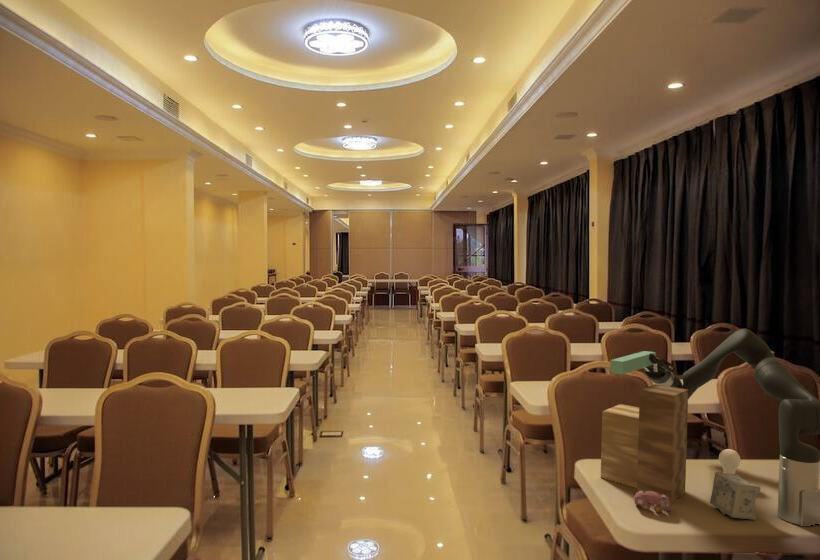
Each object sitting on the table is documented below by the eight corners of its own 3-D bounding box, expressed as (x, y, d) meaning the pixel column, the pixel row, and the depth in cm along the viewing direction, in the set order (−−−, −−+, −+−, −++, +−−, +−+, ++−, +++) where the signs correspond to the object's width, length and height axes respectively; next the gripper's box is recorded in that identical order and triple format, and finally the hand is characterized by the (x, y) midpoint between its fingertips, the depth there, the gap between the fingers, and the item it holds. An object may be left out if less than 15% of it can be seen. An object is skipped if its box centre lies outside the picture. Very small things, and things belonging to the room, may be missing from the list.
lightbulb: (734, 480, 190) (735, 447, 189) (743, 487, 184) (744, 453, 183) (714, 479, 190) (715, 446, 190) (722, 486, 184) (724, 452, 184)
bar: (644, 362, 202) (644, 350, 202) (655, 363, 199) (655, 352, 199) (610, 372, 184) (610, 360, 183) (622, 374, 181) (622, 361, 181)
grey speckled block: (760, 520, 160) (761, 483, 160) (733, 522, 159) (734, 484, 159) (734, 505, 170) (736, 470, 170) (709, 507, 169) (710, 471, 168)
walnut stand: (652, 483, 186) (655, 384, 185) (685, 492, 179) (688, 389, 178) (636, 494, 177) (639, 389, 176) (670, 504, 170) (673, 395, 169)
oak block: (619, 467, 200) (620, 403, 200) (654, 476, 192) (656, 410, 191) (600, 477, 190) (602, 411, 189) (637, 488, 182) (638, 418, 181)
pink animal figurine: (633, 513, 168) (632, 495, 165) (635, 500, 171) (634, 483, 168) (670, 520, 163) (671, 502, 160) (671, 507, 167) (671, 489, 164)
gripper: (642, 361, 214) (625, 342, 203) (683, 367, 204) (667, 347, 193) (638, 380, 211) (620, 362, 200) (678, 387, 202) (662, 368, 191)
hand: (643, 355), depth 197 cm, fingers closed on bar, 4 cm apart
